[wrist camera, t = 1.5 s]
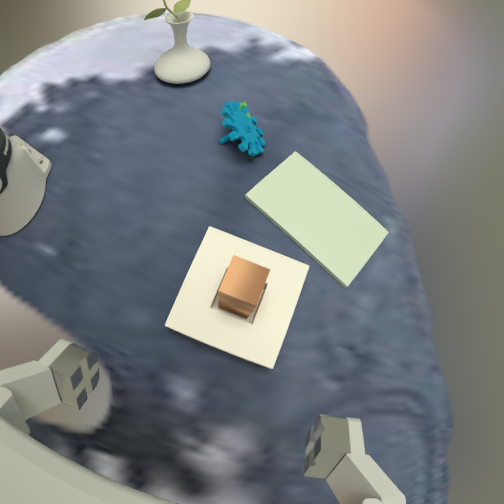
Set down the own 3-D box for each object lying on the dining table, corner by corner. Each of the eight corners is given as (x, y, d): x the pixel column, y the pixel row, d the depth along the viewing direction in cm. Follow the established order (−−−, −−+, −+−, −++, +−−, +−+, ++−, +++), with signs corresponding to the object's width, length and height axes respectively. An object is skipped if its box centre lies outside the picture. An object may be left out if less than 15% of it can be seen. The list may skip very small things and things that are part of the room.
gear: (268, 164, 49) (225, 126, 42) (239, 178, 52) (195, 146, 45) (267, 119, 54) (230, 84, 47) (242, 134, 57) (204, 102, 50)
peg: (218, 307, 42) (218, 290, 31) (229, 280, 43) (233, 254, 33) (246, 319, 42) (256, 305, 31) (257, 291, 43) (270, 269, 33)
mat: (244, 197, 48) (245, 194, 48) (294, 154, 52) (295, 151, 51) (344, 288, 46) (347, 286, 45) (385, 234, 49) (388, 232, 48)
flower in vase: (200, 51, 59) (202, -48, 36) (218, 80, 56) (224, -31, 33) (142, 66, 57) (127, -34, 33) (153, 97, 54) (136, -16, 30)
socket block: (169, 328, 41) (164, 325, 37) (210, 237, 46) (209, 226, 42) (267, 367, 41) (272, 368, 37) (301, 273, 46) (309, 265, 42)
